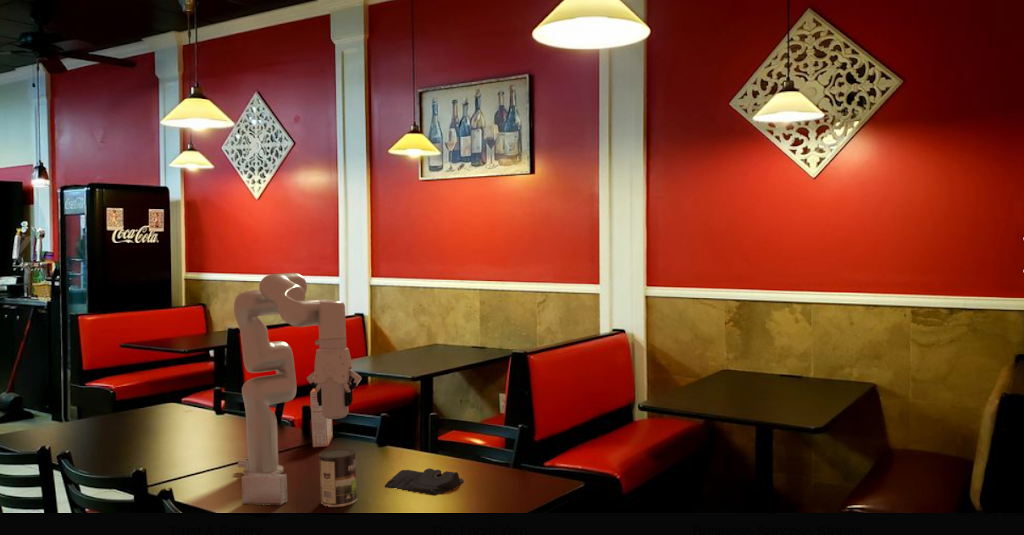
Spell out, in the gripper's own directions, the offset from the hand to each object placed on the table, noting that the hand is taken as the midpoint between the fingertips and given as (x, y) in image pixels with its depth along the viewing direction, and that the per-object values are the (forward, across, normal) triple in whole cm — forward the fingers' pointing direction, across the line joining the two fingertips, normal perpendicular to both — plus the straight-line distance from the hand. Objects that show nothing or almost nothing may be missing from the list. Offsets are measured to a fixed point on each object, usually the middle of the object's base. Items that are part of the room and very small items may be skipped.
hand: (335, 404), depth 229 cm
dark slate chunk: (+29, +20, +18) cm, 39 cm away
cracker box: (+28, -35, +64) cm, 78 cm away
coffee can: (+28, 0, 0) cm, 28 cm away
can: (+4, 0, 0) cm, 4 cm away
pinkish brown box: (+28, -21, -4) cm, 35 cm away
